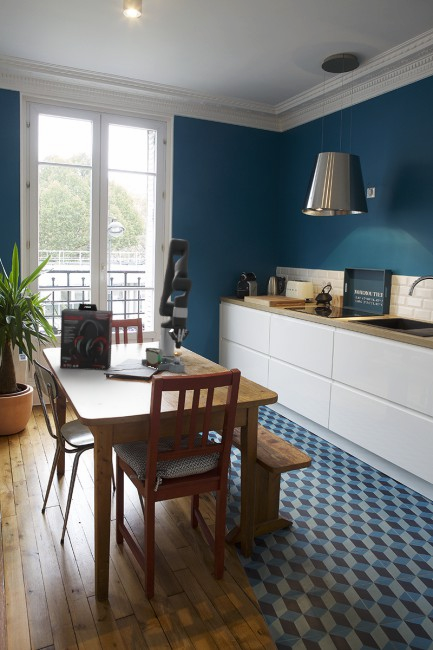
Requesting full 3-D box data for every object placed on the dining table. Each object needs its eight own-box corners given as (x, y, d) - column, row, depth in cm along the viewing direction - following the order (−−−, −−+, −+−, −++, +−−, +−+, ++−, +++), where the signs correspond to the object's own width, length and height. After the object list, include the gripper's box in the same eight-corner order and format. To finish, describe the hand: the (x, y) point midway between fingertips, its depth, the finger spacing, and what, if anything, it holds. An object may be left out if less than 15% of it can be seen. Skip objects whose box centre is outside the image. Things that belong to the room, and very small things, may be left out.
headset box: (58, 368, 255) (60, 303, 251) (63, 363, 267) (66, 301, 264) (107, 370, 257) (111, 306, 254) (110, 365, 270) (113, 304, 266)
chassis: (141, 364, 278) (141, 357, 277) (165, 362, 289) (165, 355, 289) (168, 373, 261) (169, 366, 260) (192, 370, 272) (193, 363, 272)
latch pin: (171, 363, 268) (171, 352, 267) (177, 362, 271) (178, 352, 270) (176, 364, 265) (177, 354, 264) (182, 364, 268) (183, 353, 267)
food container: (167, 369, 272) (168, 350, 270) (158, 370, 267) (159, 351, 266) (153, 364, 280) (154, 347, 279) (144, 365, 276) (145, 347, 275)
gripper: (174, 317, 258) (172, 350, 260) (194, 316, 267) (192, 348, 269) (165, 315, 263) (163, 348, 265) (185, 314, 272) (183, 346, 274)
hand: (177, 348), depth 267 cm, fingers closed
